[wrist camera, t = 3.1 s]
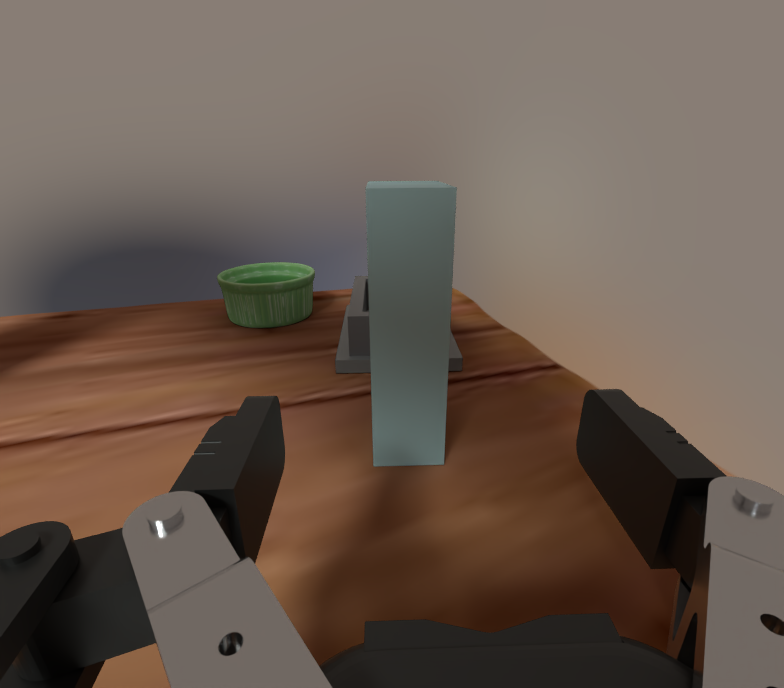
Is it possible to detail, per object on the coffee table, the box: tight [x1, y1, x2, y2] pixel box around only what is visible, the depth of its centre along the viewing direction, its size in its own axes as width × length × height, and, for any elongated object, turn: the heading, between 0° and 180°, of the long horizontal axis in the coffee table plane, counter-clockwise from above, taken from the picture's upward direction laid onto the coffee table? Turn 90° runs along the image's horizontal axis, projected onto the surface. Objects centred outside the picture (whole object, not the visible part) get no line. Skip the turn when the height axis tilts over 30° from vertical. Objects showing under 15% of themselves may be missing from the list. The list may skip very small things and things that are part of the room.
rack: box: [335, 276, 463, 373], centre depth 37 cm, size 9×13×4 cm
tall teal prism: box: [366, 181, 457, 466], centre depth 22 cm, size 4×6×13 cm, turn 2°
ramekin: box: [217, 262, 315, 328], centre depth 43 cm, size 9×9×4 cm
